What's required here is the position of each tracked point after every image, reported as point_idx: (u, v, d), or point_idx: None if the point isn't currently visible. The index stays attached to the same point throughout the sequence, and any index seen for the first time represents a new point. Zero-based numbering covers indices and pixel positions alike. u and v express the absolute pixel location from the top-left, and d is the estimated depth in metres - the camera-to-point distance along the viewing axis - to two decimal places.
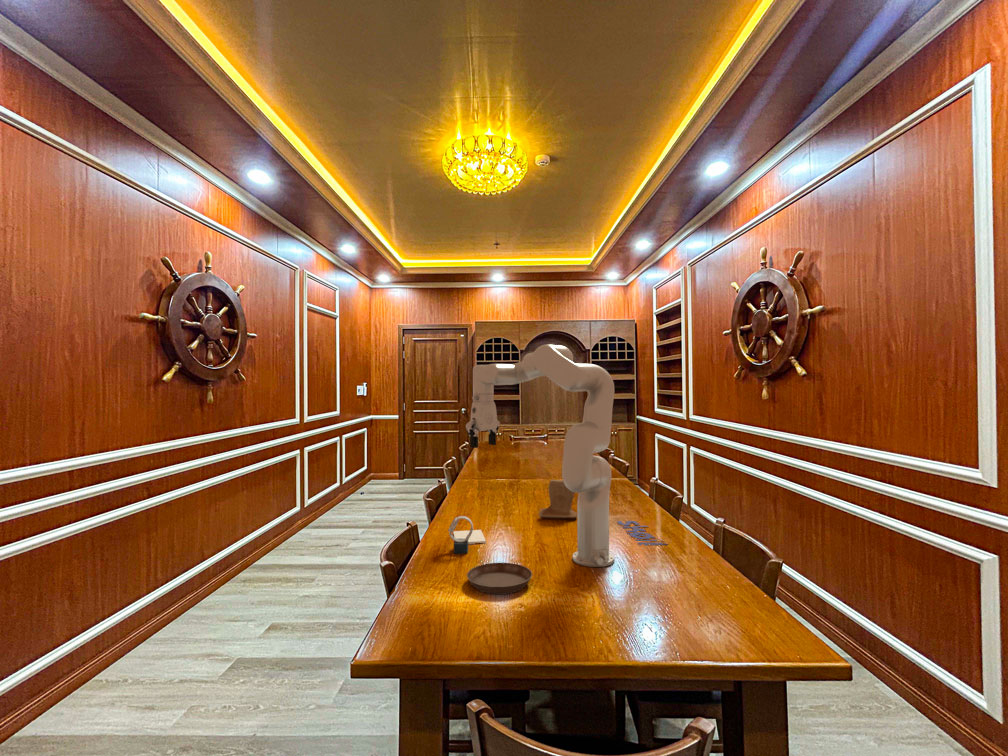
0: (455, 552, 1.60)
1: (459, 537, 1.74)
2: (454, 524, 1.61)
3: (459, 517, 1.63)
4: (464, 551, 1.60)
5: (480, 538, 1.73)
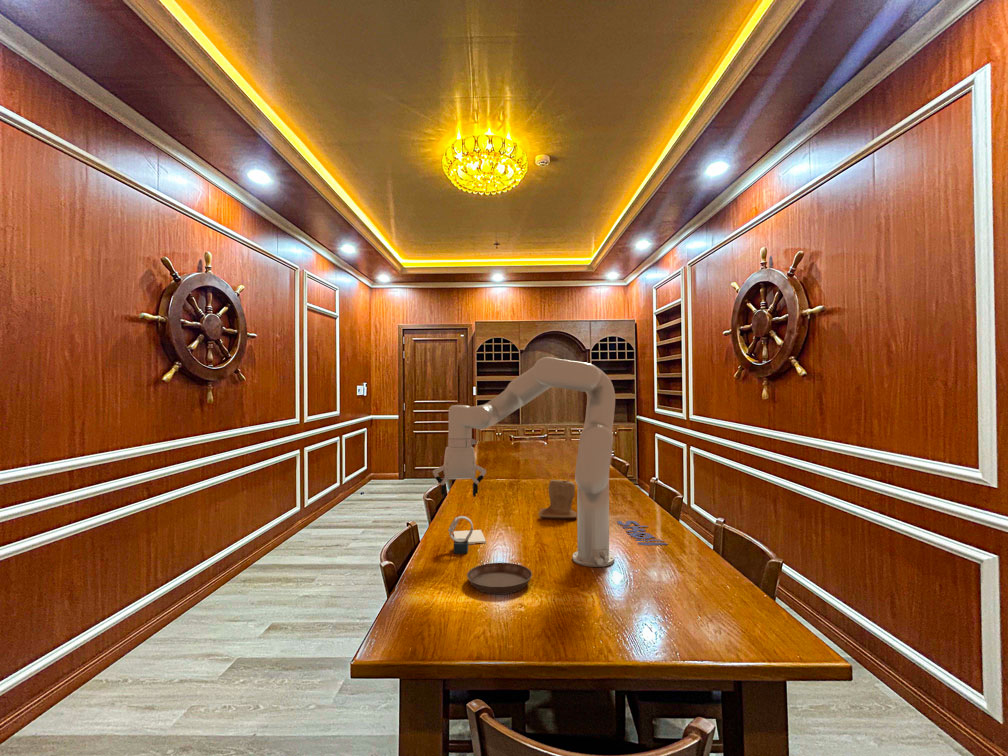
0: (455, 552, 1.60)
1: (459, 537, 1.74)
2: (454, 524, 1.61)
3: (459, 517, 1.63)
4: (464, 551, 1.60)
5: (480, 538, 1.73)
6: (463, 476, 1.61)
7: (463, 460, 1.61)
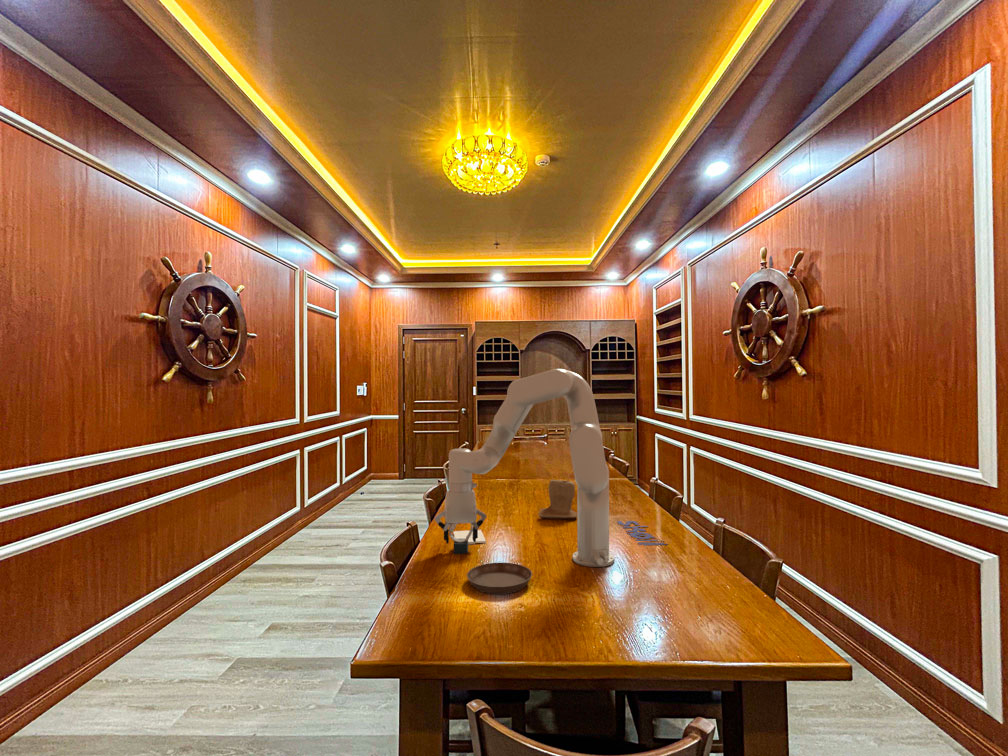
0: (455, 552, 1.60)
1: (459, 537, 1.74)
2: (454, 524, 1.61)
3: None
4: (464, 551, 1.60)
5: (480, 538, 1.73)
6: (464, 520, 1.61)
7: (464, 505, 1.61)
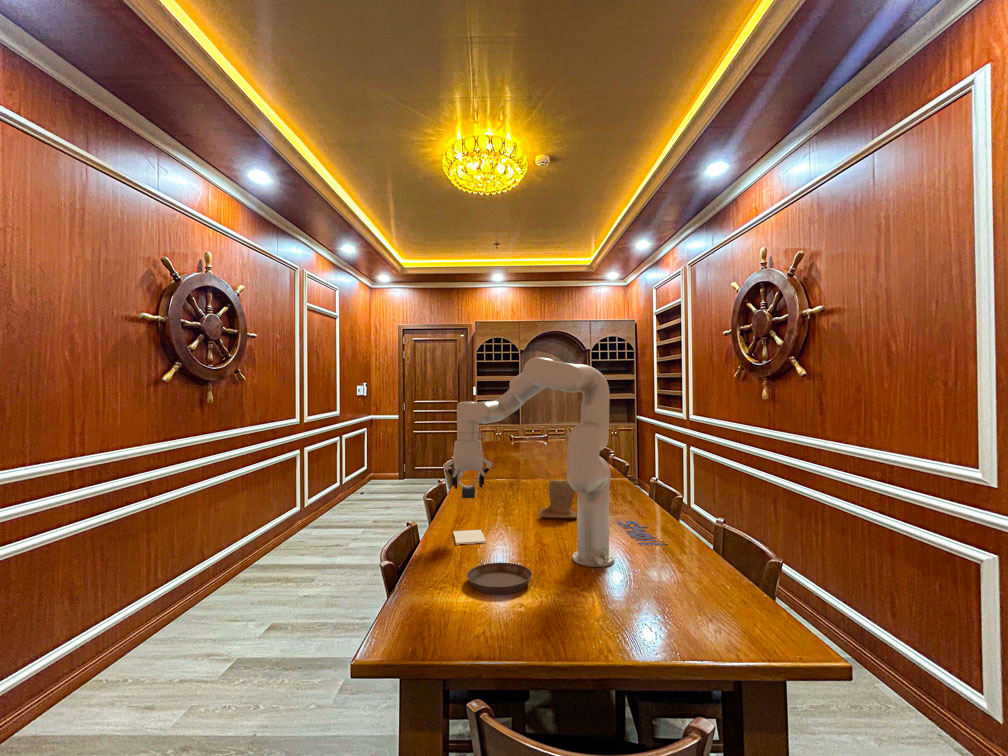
0: (463, 496, 1.73)
1: (459, 537, 1.74)
2: (462, 471, 1.73)
3: None
4: (472, 495, 1.73)
5: (480, 538, 1.73)
6: (472, 467, 1.73)
7: (471, 452, 1.73)
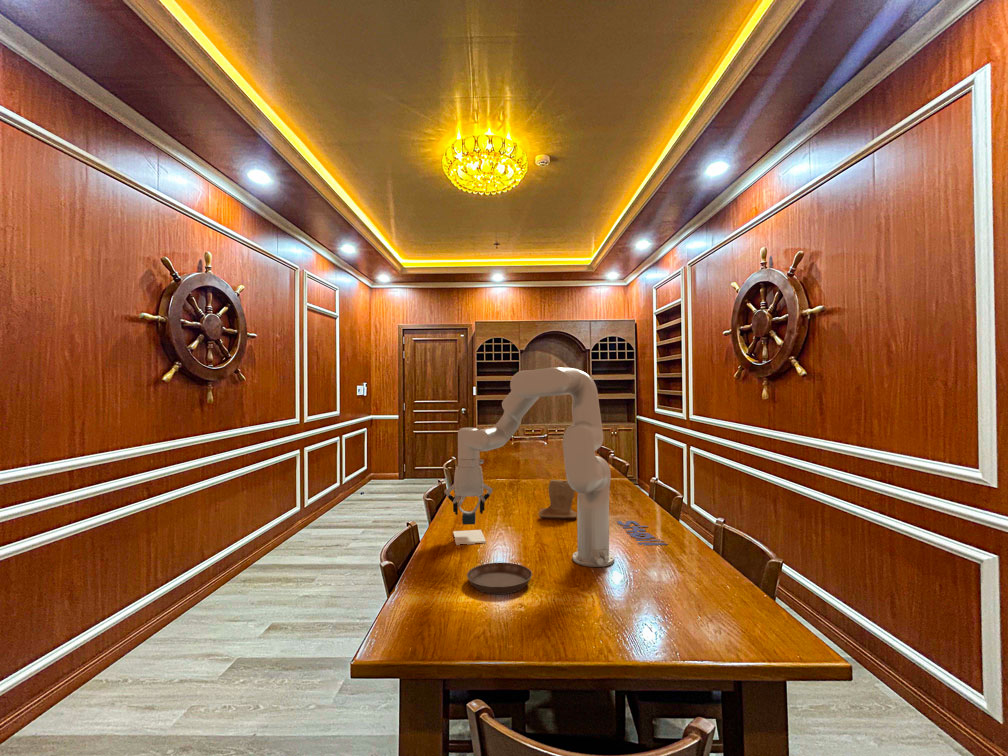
0: (463, 523, 1.74)
1: (459, 537, 1.74)
2: (463, 497, 1.74)
3: None
4: (472, 522, 1.74)
5: (480, 538, 1.73)
6: (472, 494, 1.74)
7: (472, 479, 1.74)
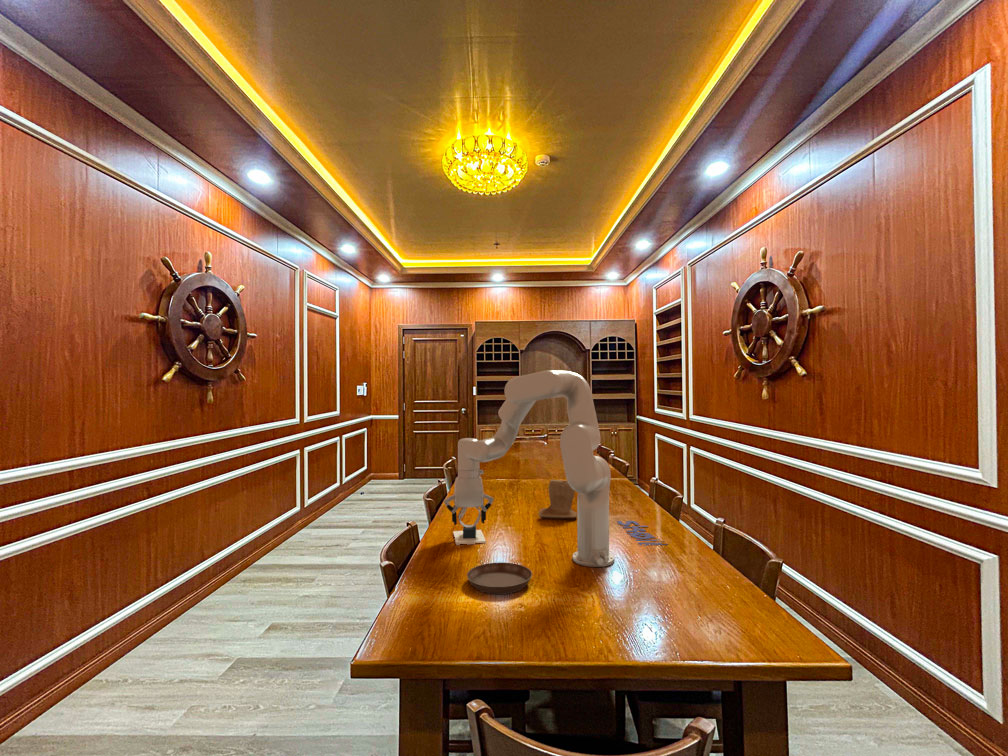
0: (464, 537, 1.73)
1: (459, 537, 1.74)
2: (463, 511, 1.74)
3: None
4: (472, 536, 1.73)
5: (480, 538, 1.73)
6: (472, 504, 1.74)
7: (472, 490, 1.74)
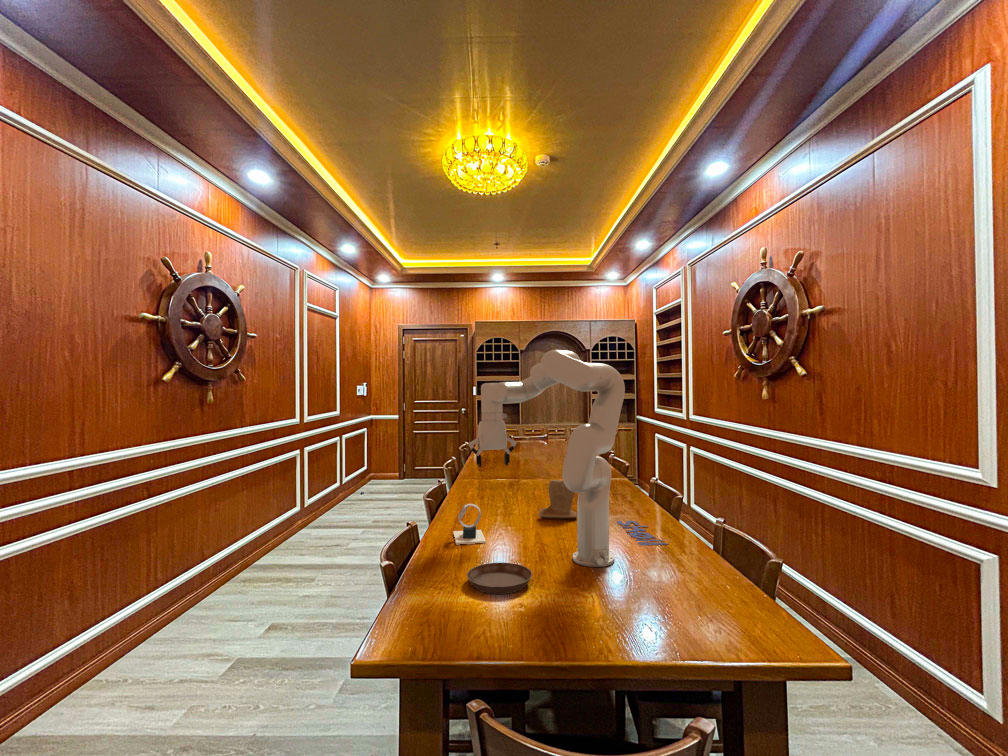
0: (464, 537, 1.73)
1: (459, 537, 1.74)
2: (463, 511, 1.74)
3: (468, 505, 1.76)
4: (473, 536, 1.73)
5: (480, 538, 1.73)
6: (496, 447, 1.78)
7: (496, 432, 1.78)
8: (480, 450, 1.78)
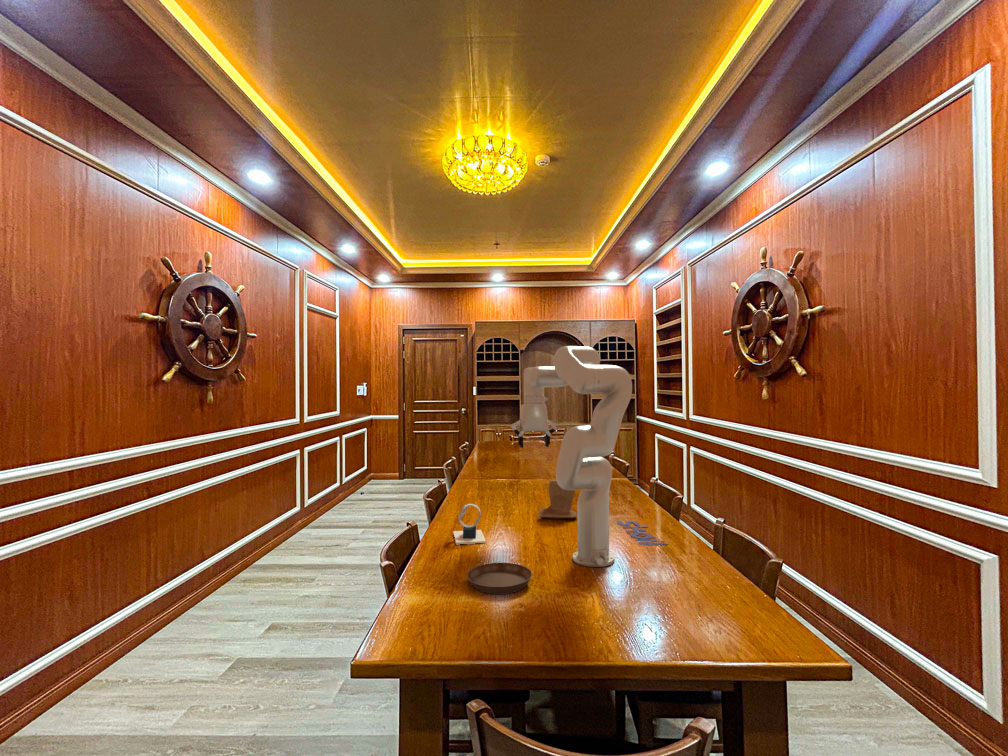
0: (464, 537, 1.73)
1: (459, 537, 1.74)
2: (463, 511, 1.74)
3: (468, 504, 1.76)
4: (473, 536, 1.73)
5: (480, 538, 1.73)
6: (538, 429, 1.85)
7: (538, 415, 1.85)
8: (522, 431, 1.85)
